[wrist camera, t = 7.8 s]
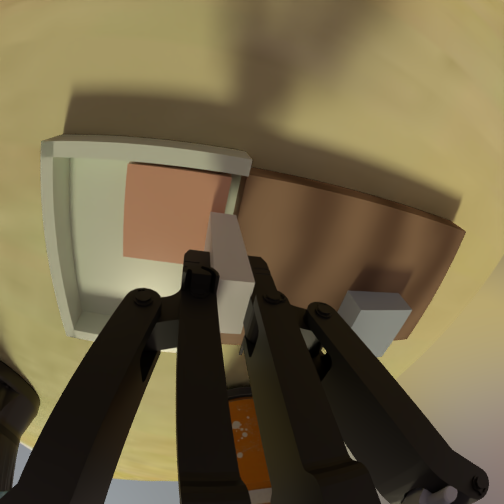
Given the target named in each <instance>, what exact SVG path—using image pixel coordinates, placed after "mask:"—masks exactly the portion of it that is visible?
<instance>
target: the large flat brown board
mask: <svg viewBox="0 0 504 504" xmlns="http://www.w3.org/2000/svg"><path fill="white" fill-rule="evenodd" d="M233 215H236V216H237V220H238V224H239V227H240V231H241V234H242V238H243V241H244V245H245V249H246V252H247V255H248V256H257V257H261V258H262V259H263V260H264V261H265V262H266V263H267V265H268V267H269V270H270V273H271V275H272V278H273V281H274V283H275V286H276V288H277V291H280V292H282V293H283V294H284V295H285V296H286V297H287V298H288V300H289V303H290V304H291V305H293V306H296V307H300V308H304V309H307V307H308V305H309V304H310V303H312V302H323V303H326V304H328V305H330V306H331V307H333V308H334V309H335V310H336V311H337V312H338V310H339V308H340V306H341V304H342V302H343V300H344V297H345V295H346V293H347V291H366V292H386V293H399V294H400V295H401V297H402V298H403V299H404V300H405V301H406V303H407V304H408V305H409V306H410V308H411V309H412V311H411V313H410V315H409V316H408V318H407V320H406V321H405V323H404V324H403V326H402V327H401V329H400V331H399V332H398V334H397V335H396V337H395V338H394V340H403V339H407V338H408V337H409V335H410V334H411V332H412V331H413V329H414V328H415V326H416V324H417V323H418V321H419V320H420V318H421V317H422V315H423V313H424V312H425V310H426V309H427V307H428V305H429V304H430V302H431V300H432V298H433V297H434V295H435V293H436V291H437V290H438V288H439V286H440V284H441V282H442V281H443V279H444V277H445V275H446V273H447V271H448V269H449V267H450V265H451V263H452V261H453V259H454V257H455V255H456V253H457V251H458V249H459V246H460V244H461V242H462V240H463V238H464V235H465V233H466V231H464V230H463V229H462V228H460V227H459V226H457V225H456V224H454V223H453V222H451V221H449V220H447V219H444V218H441V217H438V216H436V215H433V214H430V213H427V212H424V211H421V210H418V209H415V208H412V207H409V206H406V205H403V204H399V203H396V202H393V201H390V200H386V199H383V198H380V197H376V196H373V195H369V194H366V193H362V192H358V191H355V190H351V189H347V188H343V187H340V186H336V185H332V184H328V183H323V182H319V181H315V180H311V179H306V178H302V177H297V176H293V175H288V174H283V173H279V172H274V171H269V170H263V169H258V168H253V167H251V169H250V173H249V177H248V176H242V175H241V179H240V184H239V189H238V193H237V198H236V203H235V208H234V212H233ZM244 334H245V331H244V325H243V328H242V332H241V334H229V333H220V335H221V344H231V345H241V344H242V341H243V338H244Z"/></svg>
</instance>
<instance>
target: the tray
mask: <svg viewBox="0 0 504 504" xmlns="http://www.w3.org/2000/svg"><path fill="white" fill-rule="evenodd" d="M130 161H134V162H144V163H154V164H164V165H173V166H181V167H189V168H196V169H204V170H211V171H217V172H224V173H230V174H231V176H232V180H231V185H230V190H229V194H228V199H227V204H226V208H225V213H224V214H231V215H233V212H234V208H235V203H236V198H237V193H238V189H239V184H240V179H241V175H242V176H248V177H249V173H250V169H251V164H252V159H251V157H250V156H249V155H248V154H247V153H246V151H241V150H235V149H229V148H223V147H217V146H210V145H204V144H196V143H189V142H181V141H172V140H163V139H153V138H142V137H129V136H112V135H81V134H62V135H59V136H56V137H53V138H49V139H46V140H43V141H41V200H42V214H43V224H44V233H45V241H46V248H47V255H48V261H49V267H50V272H51V277H52V282H53V287H54V291H55V295H56V300H57V304H58V307H59V311H60V315H61V319H62V322H63V326H64V329H65V332H66V335H67V336H69V337H74V338H79V339H84V340H89V341H95V340H96V338H97V337H98V335H99V334H100V332H101V331H102V329H103V328H104V326H105V325H106V323H107V322H108V320H109V319H110V317H111V316H112V314H113V313H114V312H115V310H116V309H117V307H118V306H119V304H120V303H121V302H122V300H123V299H124V297H125V296H126V295H127V294H128V293H129V292H130V291H131V290H134V289H136V288H148V289H152V290H154V291H156V292H157V293H158V294H159V295H160V296H161V297H167V296H171V295H173V294H176V293H177V292H178V291H179V290H180V289H181V281H182V271H183V264H177V263H169V262H161V261H154V260H146V259H138V258H131V257H123V224H124V202H125V187H126V175H127V165H128V163H129V162H130ZM161 351H164V352H173V353H177V348H171V349H165V350H161Z"/></svg>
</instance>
